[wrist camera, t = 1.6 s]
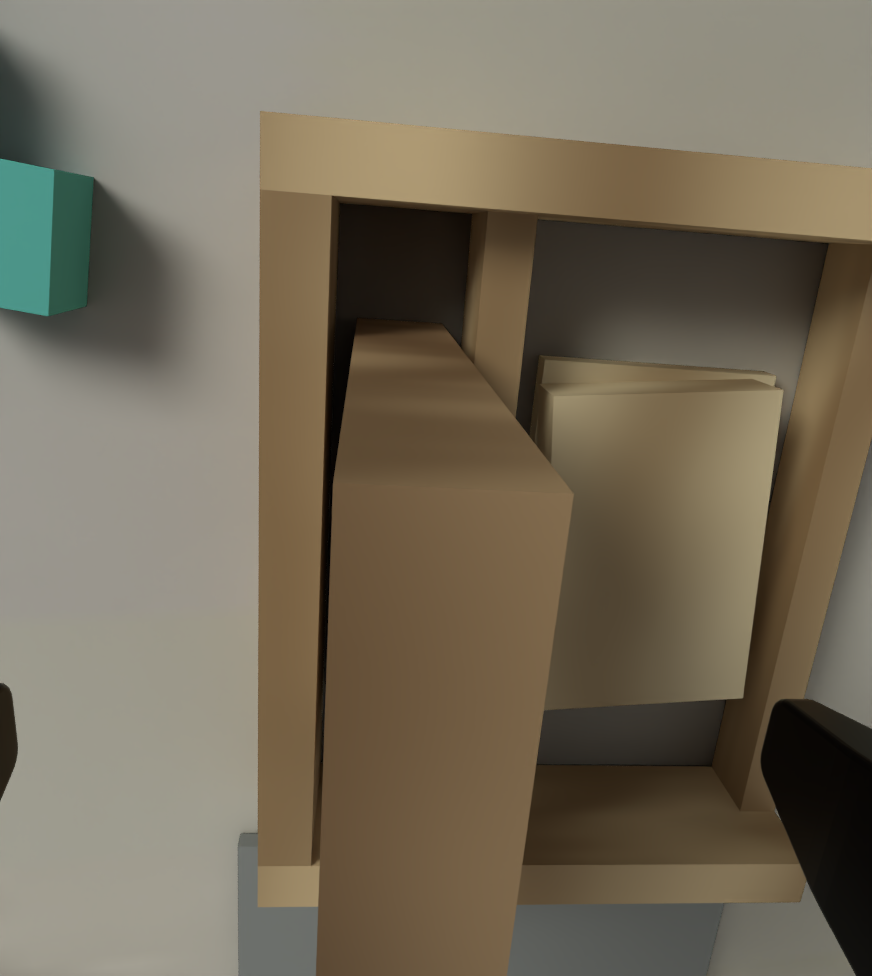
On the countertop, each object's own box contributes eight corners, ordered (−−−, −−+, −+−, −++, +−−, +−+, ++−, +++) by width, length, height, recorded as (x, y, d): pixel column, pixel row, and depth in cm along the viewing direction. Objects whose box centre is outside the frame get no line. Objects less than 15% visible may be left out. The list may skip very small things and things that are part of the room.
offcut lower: (747, 365, 16) (776, 376, 15) (685, 658, 18) (706, 686, 17) (532, 349, 16) (545, 359, 14) (495, 652, 18) (504, 681, 17)
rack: (881, 191, 14) (1007, 180, 12) (734, 800, 19) (800, 901, 16) (284, 136, 13) (260, 110, 10) (275, 798, 18) (257, 906, 15)
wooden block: (441, 323, 15) (573, 493, 5) (413, 687, 17) (468, 1254, 8) (357, 317, 14) (334, 483, 5) (341, 685, 17) (305, 1262, 7)
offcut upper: (751, 378, 15) (783, 390, 14) (717, 667, 17) (742, 698, 16) (539, 383, 15) (553, 396, 13) (529, 678, 17) (541, 710, 15)
